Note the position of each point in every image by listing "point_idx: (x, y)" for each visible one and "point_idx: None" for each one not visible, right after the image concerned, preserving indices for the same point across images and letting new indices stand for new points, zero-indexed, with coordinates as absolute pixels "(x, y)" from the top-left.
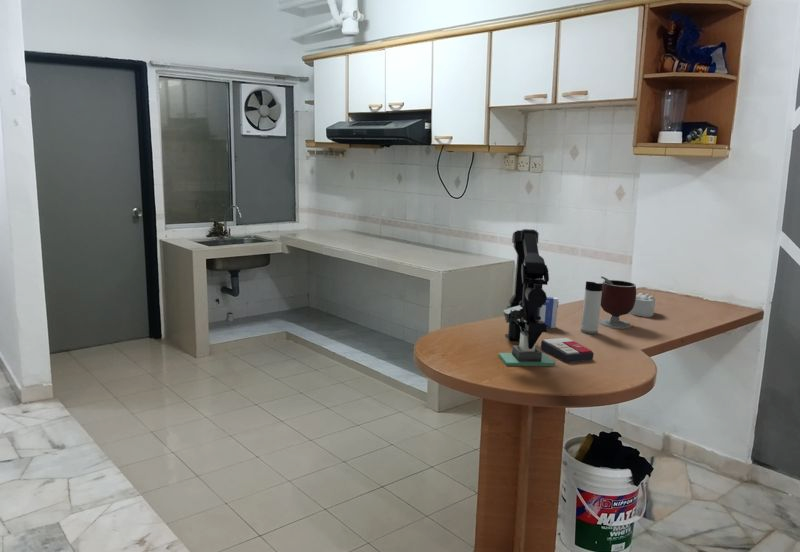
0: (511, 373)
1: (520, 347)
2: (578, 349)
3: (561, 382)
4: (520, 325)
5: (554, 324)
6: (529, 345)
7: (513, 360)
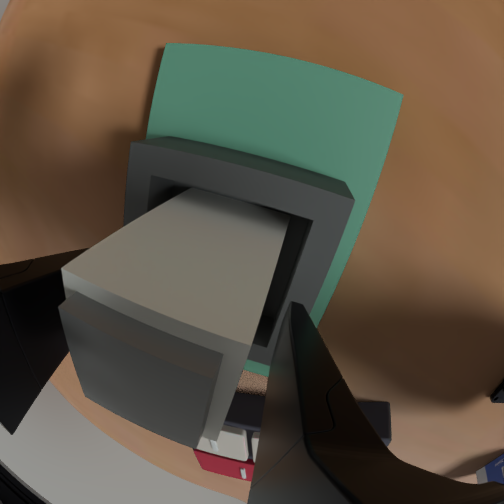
0: (74, 47)
1: (240, 224)
2: (217, 460)
3: (8, 217)
4: (313, 480)
5: (479, 477)
6: None
7: (195, 107)
